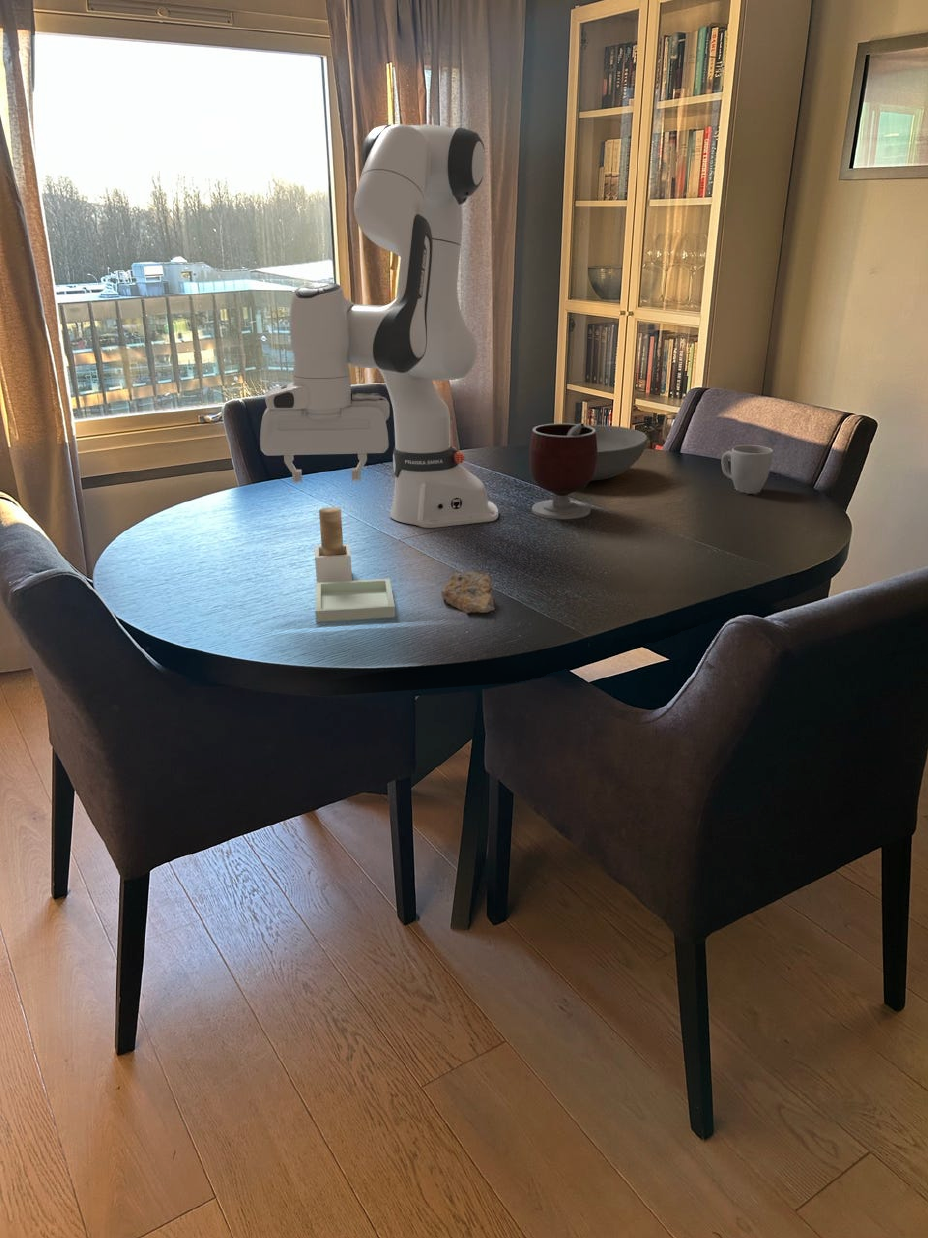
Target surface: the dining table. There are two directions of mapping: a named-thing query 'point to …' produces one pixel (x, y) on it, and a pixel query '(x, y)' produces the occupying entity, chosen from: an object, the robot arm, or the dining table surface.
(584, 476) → the mate gourd
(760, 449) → the mug
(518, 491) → the dining table surface
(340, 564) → the pen cup
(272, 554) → the dining table surface
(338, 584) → the tray
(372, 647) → the dining table surface
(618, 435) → the bowl
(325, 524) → the dowel
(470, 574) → the rock
